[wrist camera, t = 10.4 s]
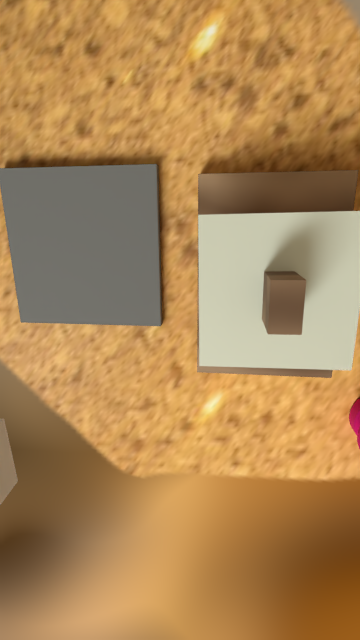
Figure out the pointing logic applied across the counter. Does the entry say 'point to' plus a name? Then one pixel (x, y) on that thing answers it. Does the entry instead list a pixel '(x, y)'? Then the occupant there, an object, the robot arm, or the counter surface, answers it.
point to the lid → (279, 289)
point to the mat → (85, 243)
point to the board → (274, 197)
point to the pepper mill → (355, 419)
